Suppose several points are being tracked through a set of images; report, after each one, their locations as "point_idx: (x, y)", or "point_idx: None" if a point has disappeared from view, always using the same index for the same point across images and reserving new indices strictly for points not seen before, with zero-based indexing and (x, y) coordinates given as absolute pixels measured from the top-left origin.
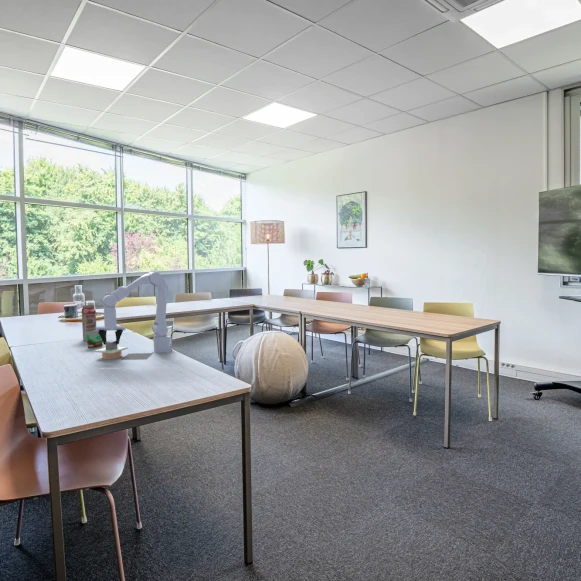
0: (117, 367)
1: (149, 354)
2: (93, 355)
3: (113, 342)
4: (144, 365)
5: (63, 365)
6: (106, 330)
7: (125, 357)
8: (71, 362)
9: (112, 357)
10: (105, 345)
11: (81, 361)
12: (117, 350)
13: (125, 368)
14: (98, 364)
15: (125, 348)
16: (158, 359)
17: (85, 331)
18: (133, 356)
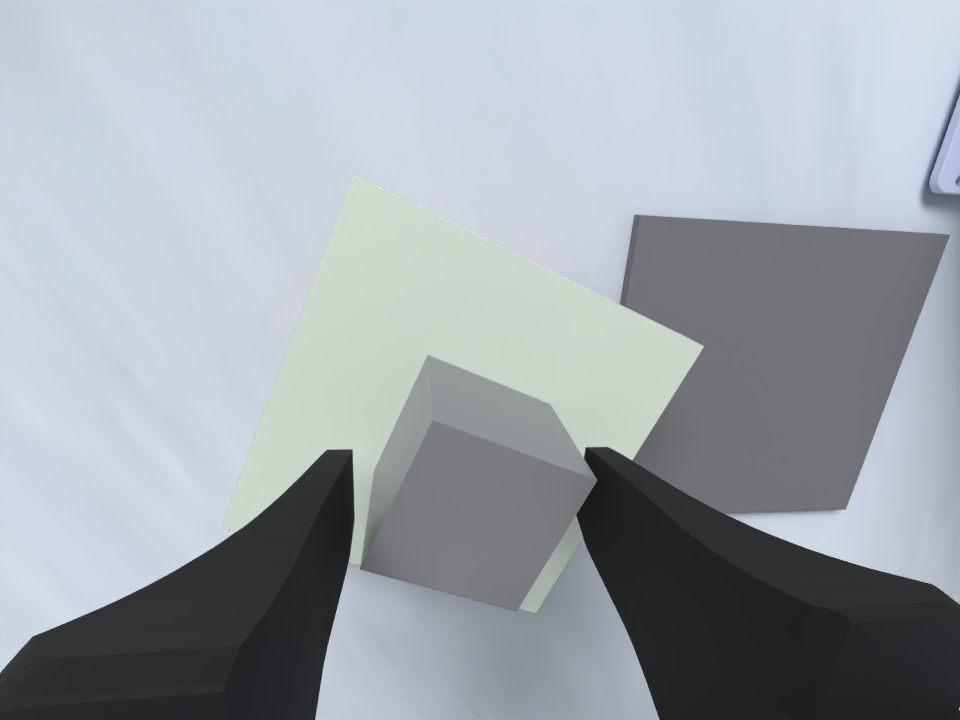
0: (603, 692)
1: (895, 305)
2: (91, 202)
3: (537, 557)
4: None
5: (13, 653)
6: (243, 688)
7: None
8: (17, 552)
9: None
10: (368, 514)
11: (124, 516)
12: (582, 536)
13: None
14: (398, 620)
15: (669, 388)
16: (942, 477)
17: None
18: (714, 386)
